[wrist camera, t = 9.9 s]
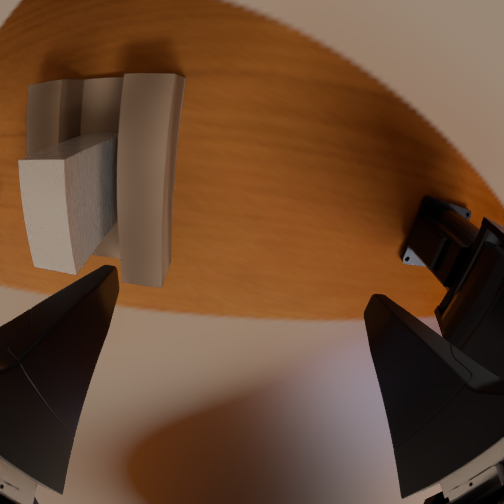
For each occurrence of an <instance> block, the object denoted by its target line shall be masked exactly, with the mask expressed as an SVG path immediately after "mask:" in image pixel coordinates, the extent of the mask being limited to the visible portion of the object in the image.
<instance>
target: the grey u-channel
mask: <svg viewBox="0 0 504 504" xmlns="http://www.w3.org/2000/svg"><path fill="white" fill-rule="evenodd" d="M185 84H186V78H185V77H182V76H180V75H177V74H169V73H129V74H124V77H111V78H96V79H85V80H81V79H61V80H54V81H48V82H43V83H37V84H32V85H28V97H27V116H26V151H27V156H29V155H31V154H33V153H36V152H38V151H41V150H43V149H45V148H48V147H50V146H53V145H56V144H58V143H61V142H64V141H66V140H69V139H72V138H75V137H78V136H80V135H83V134H86V133H118V153H117V214H118V221H117V223H116V224H115V225H114V226H113V227H112V229H111V230H110V231H109V232H108V234H107V235H106V236H105V237H104V239H103V240H102V241H101V242H100V244H99V245H98V246H97V248H96V249H95V250H94V251H93V253H92V254H91V255H98V256H105V257H112V258H120V261H121V272H122V281H123V283H130V284H137V285H144V286H151V287H158V288H162V286H163V283H164V280H165V277H166V274H167V271H168V268H169V265H170V263H171V236H172V213H173V196H174V181H175V169H176V157H177V147H178V138H179V129H180V120H181V112H182V105H183V97H184V91H185ZM43 269H44V268H43ZM47 270H49V269H47ZM53 271H54V270H53ZM58 272H59V271H58ZM63 273H64V272H63Z"/></svg>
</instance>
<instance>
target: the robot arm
mask: <svg viewBox="0 0 504 504" xmlns="http://www.w3.org/2000/svg"><path fill="white" fill-rule="evenodd" d="M428 200H429V203H427V202H428ZM470 216H471V211H470V210H468V209H467V208H464V207H461V206H458V205H456V204H453V203H450V202H447V201H444V200H441V199H438V198H435V197H432V196H428V195H427V196H425V197H424V199H423V201H422V204H421V207H420V210H419V212H418V215H417V218H416V221H415V223H414V226H413V228H412V231H411V234H410V236H409V239H408V241H407V244H406V246H405V248H404V251H403V253H402V256H401V260H402V262H403V263H405V264H411V265H418V266H426V267H427V268H428V269H429V270H430V271H431V272H432V273H433V274H434V275H435V277H436V278H437V279H438V280H439V281H440V283H441V284H442V285H443V286H444V287H445V289H446V290H447V291H448V292H447V293H446V295H445V297H444V298H443V300H442V302H441V303H440V305H439V306H437V308H436V309H435V311H434V312H435V315H436V318H437V321H438V324H439V327H440V330H441V333H442V336H443V337H441V336H440V335H439V334H437V333H436V332H435V331H433V330H432V329H431V328H429V327H428V326H427V325H425V324H424V323H422V322H421V321H420V320H418V319H417V318H416V317H414V316H413V315H412V314H410V313H409V312H407V311H406V310H405V309H403V308H402V307H401V306H399V305H398V304H396V303H395V302H394V301H392V300H391V299H389V298H388V297H386V296H385V295H383V294H373V295H372V297H371V298H370V301H369V303H368V305H367V307H366V309H365V311H364V320H365V325H366V330H367V336H368V341H369V347H370V352H371V355H372V359H373V363H374V366H375V370H376V374H377V378H378V381H379V386H380V389H381V394H382V397H383V402H384V406H385V410H386V415H387V419H388V424H389V429H390V433H391V438H392V443H393V448H394V455H395V460H396V466H397V472H398V479H399V485H400V491H401V497H402V499H403V498H406V497H409V496H411V495H414V494H416V493H419V492H421V491H424V490H426V489H428V488H430V487H433V486H435V485H437V484H439V483H440V485H441V488H442V492H440V493H438V494H436V495H434V496H432V497H429V498H427V499H426V500H425V502H424V504H504V227H503V226H501V225H499V224H497V223H496V222H494V221H492V220H490V219H488V218H486V217H484V218H483V220H482V225H481V228H480V229H479V228H478V227H476V226H475V225H474V224H473V223H471V222H470V221H469V219H470ZM406 257H407V258H406ZM405 258H406V259H405ZM118 293H119V281H118V272H117V268H116V267H115V266H110V265H104V266H102V267H100V268H98V269H96V270H95V271H93V272H91V273H89V274H88V275H86V276H84V277H82V278H81V279H79V280H77V281H75V282H74V283H72V284H70V285H69V286H67V287H65V288H64V289H62V290H60V291H58V292H57V293H55V294H53V295H52V296H50V297H48V298H47V299H45V300H44V301H42V302H40V303H39V304H37V305H35V306H34V307H32V308H31V309H29V310H27V311H26V312H24V313H23V314H21V315H19V316H18V317H16V318H15V319H13V320H12V321H10V322H8V323H6V324H4V325H2V326H1V327H0V504H38V502H37V500H36V498H35V497H34V496H35V491H36V487H37V484H39V485H41V486H43V487H45V488H48V489H50V490H52V491H54V492H57V493H59V494H61V495H62V494H63V490H64V484H65V479H66V474H67V468H68V464H69V459H70V454H71V450H72V446H73V441H74V439H73V438H74V437H75V432H76V429H77V425H78V421H79V418H80V414H81V411H82V407H83V404H84V400H85V397H86V394H87V391H88V387H89V384H90V381H91V378H92V375H93V372H94V369H95V366H96V363H97V360H98V357H99V355H100V352H101V349H102V346H103V343H104V341H105V338H106V336H107V333H108V329H109V326H110V323H111V319H112V315H113V311H114V308H115V304H116V300H117V297H118Z"/></svg>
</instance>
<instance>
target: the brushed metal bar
mask: <svg viewBox="0 0 504 504" xmlns="http://www.w3.org/2000/svg"><path fill="white" fill-rule="evenodd" d="M117 153H118V133H86V134H83V135H80V136H78V137H75V138H72V139H69V140H66V141H64V142H61V143H58V144H56V145H53V146H50V147H48V148H45V149H43V150H41V151H38V152H36V153H33V154H31V155H29V156H27V157H24V158H22V159H20V160H18V162H19V177H20V188H21V197H22V204H23V212H24V218H25V224H26V230H27V235H28V240H29V245H30V250H31V254H32V259H33V263H34V267H39V268H44V269H49V270H54V271H59V272H64V273H69V274H75V275H77V273H78V272H79V270H80V269H81V268H82V266H83V265H84V263H85V262H86V261H87V259H88V258H89V257H90V255H91V254H92V253H93V251H94V250H95V249H96V248H97V246H98V245H99V244H100V242H101V241H102V240H103V239H104V237H105V236H106V235H107V234H108V232H109V231H110V230H111V229H112V227H113V226H114V225H115V224H116V223H117V221H118V214H117Z"/></svg>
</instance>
